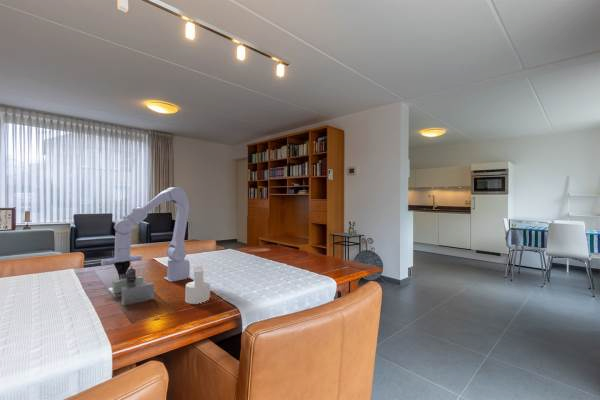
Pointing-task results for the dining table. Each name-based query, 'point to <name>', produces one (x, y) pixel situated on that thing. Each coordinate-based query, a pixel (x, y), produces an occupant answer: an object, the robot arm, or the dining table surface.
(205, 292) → the cylinder with rectangular tab
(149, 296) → the plate
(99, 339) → the dining table surface
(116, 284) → the vise jaw
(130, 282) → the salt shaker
